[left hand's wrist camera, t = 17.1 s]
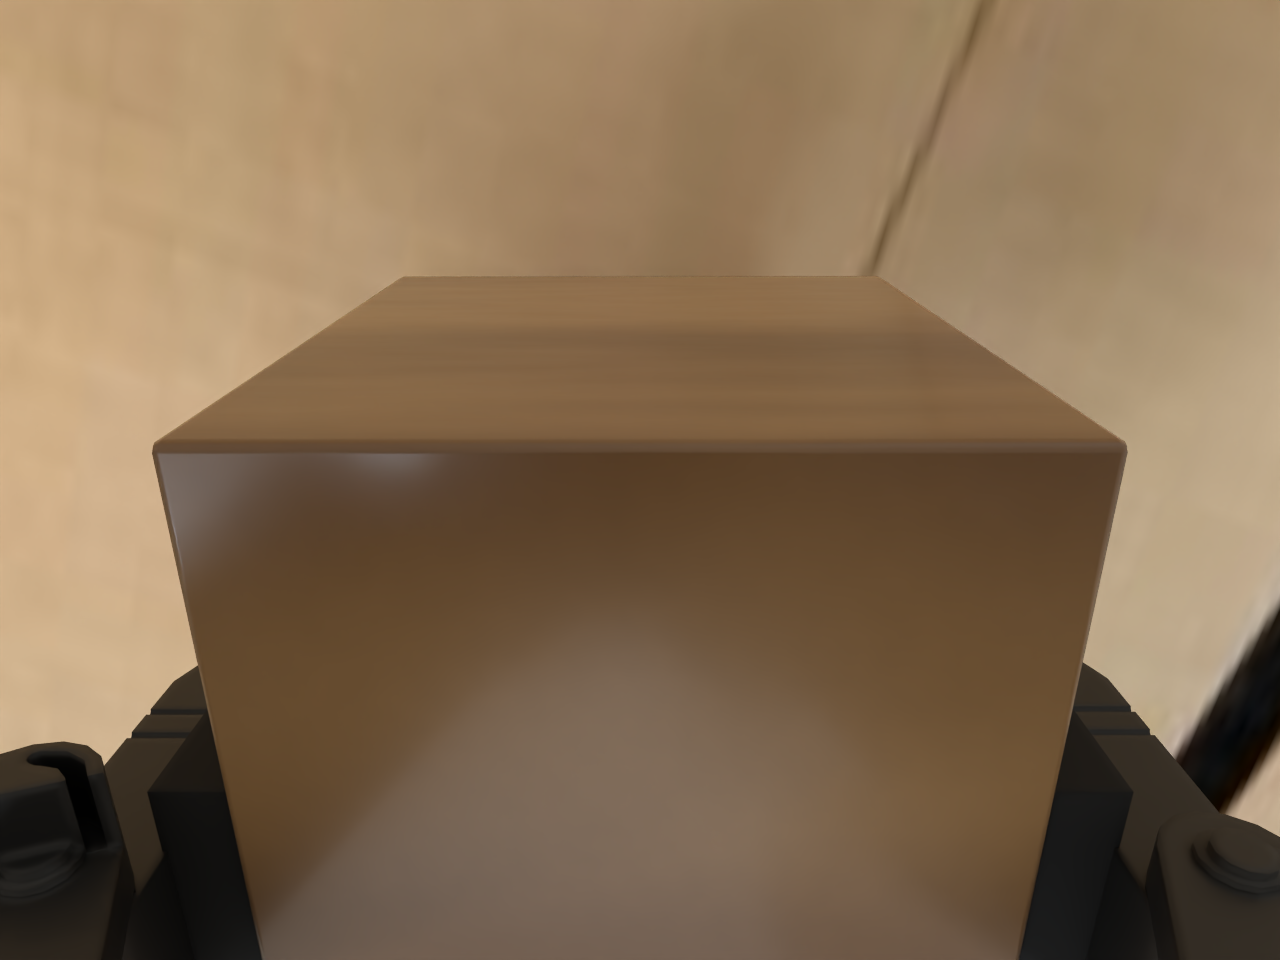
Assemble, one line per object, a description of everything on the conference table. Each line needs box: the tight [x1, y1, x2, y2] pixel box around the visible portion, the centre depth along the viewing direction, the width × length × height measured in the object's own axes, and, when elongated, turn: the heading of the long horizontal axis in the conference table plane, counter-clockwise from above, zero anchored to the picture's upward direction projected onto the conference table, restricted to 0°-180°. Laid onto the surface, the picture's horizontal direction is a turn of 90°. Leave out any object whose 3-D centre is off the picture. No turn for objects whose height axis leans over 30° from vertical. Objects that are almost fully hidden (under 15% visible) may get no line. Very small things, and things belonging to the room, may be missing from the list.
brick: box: [152, 276, 1127, 960], centre depth 12 cm, size 9×7×7 cm
